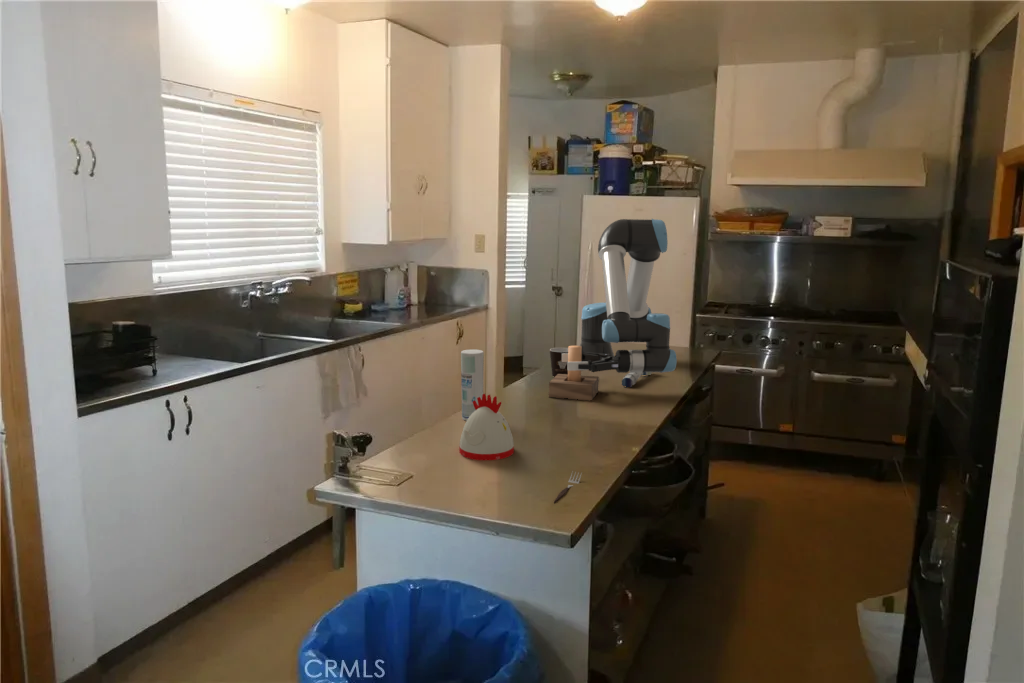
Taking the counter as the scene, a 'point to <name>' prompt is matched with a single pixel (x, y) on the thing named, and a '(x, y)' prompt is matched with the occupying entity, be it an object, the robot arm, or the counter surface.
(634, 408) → the counter surface
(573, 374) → the peg
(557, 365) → the coffee mug
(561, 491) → the fork
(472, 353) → the spray can
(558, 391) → the socket block
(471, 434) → the kitchen timer
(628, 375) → the toothbrush head
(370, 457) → the counter surface
